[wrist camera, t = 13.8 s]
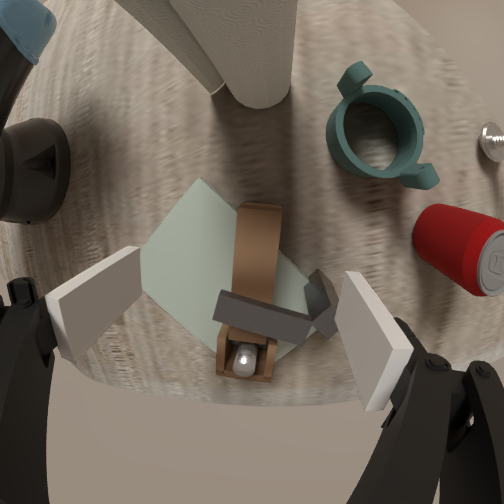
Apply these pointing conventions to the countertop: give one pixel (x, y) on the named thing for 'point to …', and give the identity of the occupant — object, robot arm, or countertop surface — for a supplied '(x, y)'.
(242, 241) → the link
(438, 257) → the beverage can
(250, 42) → the paper towel roll
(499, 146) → the screw
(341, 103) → the teal hollow cylinder
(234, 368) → the cylinder
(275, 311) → the keeper
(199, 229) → the base board
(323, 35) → the countertop surface
